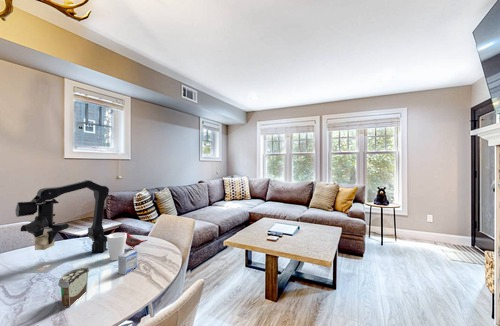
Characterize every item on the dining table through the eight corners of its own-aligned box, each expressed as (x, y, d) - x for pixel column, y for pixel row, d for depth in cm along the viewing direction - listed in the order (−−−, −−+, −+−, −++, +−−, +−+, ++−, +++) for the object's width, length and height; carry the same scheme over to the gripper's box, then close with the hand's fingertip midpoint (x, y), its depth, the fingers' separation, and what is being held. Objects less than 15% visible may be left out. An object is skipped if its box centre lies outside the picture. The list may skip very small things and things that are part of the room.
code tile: (65, 262, 117) (65, 261, 117) (46, 273, 105) (46, 272, 105) (41, 262, 116) (41, 262, 116) (20, 273, 104) (20, 273, 104)
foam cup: (102, 259, 120) (103, 236, 120) (118, 253, 129) (118, 231, 129) (114, 263, 117) (115, 238, 117) (129, 256, 125) (130, 233, 125)
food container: (73, 290, 91) (73, 266, 91) (88, 290, 91) (89, 266, 92) (48, 310, 79) (49, 282, 79) (66, 309, 79) (67, 282, 79)
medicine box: (125, 275, 105) (126, 256, 105) (117, 274, 105) (118, 256, 105) (137, 267, 112) (137, 250, 112) (129, 266, 113) (130, 249, 113)
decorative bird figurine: (123, 247, 139) (123, 231, 139) (148, 249, 136) (149, 233, 136) (119, 249, 136) (120, 233, 136) (146, 251, 133) (146, 234, 134)
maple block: (54, 245, 114) (54, 233, 114) (44, 249, 108) (44, 237, 108) (45, 245, 113) (45, 233, 113) (34, 249, 107) (34, 237, 107)
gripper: (9, 216, 102) (8, 250, 102) (52, 216, 103) (51, 249, 103) (31, 211, 113) (30, 242, 113) (69, 211, 115) (68, 241, 114)
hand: (44, 243), depth 111 cm, fingers closed on maple block, 4 cm apart
